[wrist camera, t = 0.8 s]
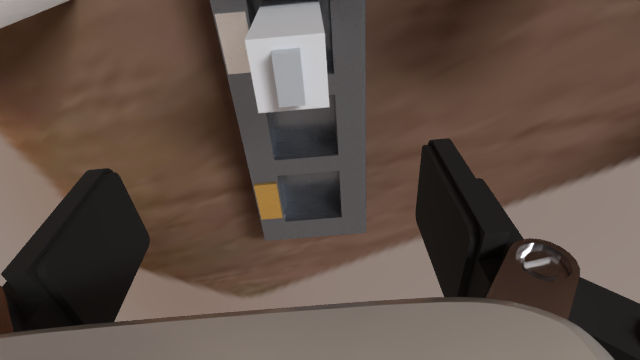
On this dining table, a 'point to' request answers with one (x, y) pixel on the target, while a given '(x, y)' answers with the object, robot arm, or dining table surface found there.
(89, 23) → the dining table surface
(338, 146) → the socket panel
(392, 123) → the dining table surface
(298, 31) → the plug
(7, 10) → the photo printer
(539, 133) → the dining table surface
